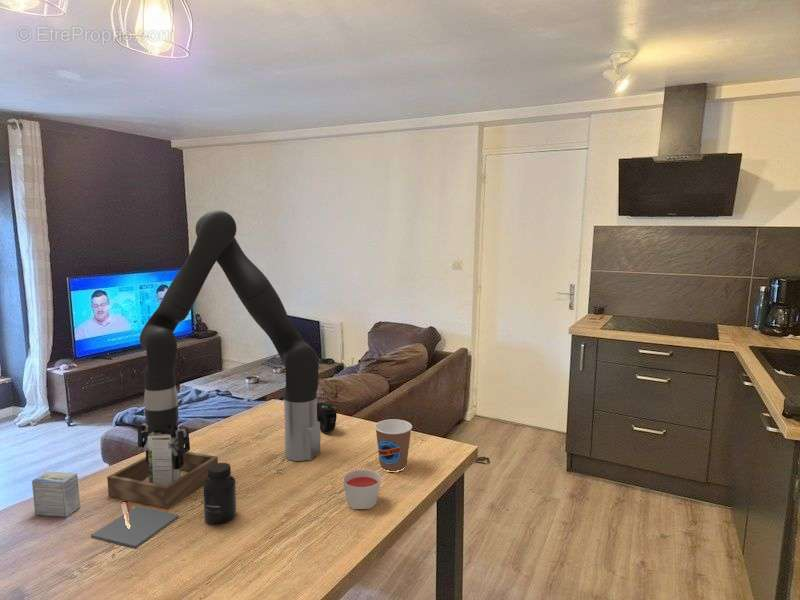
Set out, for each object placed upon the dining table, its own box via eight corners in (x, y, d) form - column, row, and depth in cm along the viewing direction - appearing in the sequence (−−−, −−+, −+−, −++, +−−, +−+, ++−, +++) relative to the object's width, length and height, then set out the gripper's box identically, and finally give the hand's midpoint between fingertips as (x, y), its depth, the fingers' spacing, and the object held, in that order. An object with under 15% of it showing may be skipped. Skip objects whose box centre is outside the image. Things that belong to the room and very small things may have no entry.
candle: (364, 489, 125) (364, 465, 124) (388, 503, 119) (388, 478, 118) (335, 502, 119) (335, 477, 118) (359, 517, 112) (359, 491, 112)
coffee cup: (368, 472, 135) (368, 429, 133) (383, 456, 144) (383, 417, 143) (403, 479, 131) (404, 435, 129) (417, 463, 140) (417, 422, 139)
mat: (178, 517, 112) (178, 515, 112) (135, 548, 101) (135, 545, 101) (137, 508, 116) (137, 506, 116) (91, 537, 105) (90, 534, 105)
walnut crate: (218, 474, 133) (217, 456, 132) (167, 508, 116) (166, 488, 115) (164, 464, 138) (163, 447, 138) (108, 496, 121) (107, 476, 121)
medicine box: (81, 507, 116) (78, 472, 115) (66, 518, 112) (63, 481, 111) (50, 505, 117) (47, 470, 116) (34, 516, 113) (31, 480, 112)
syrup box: (158, 480, 130) (155, 426, 128) (181, 479, 130) (179, 426, 128) (149, 491, 124) (146, 435, 122) (173, 490, 124) (170, 434, 123)
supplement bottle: (206, 529, 108) (204, 476, 106) (202, 513, 114) (200, 464, 112) (239, 521, 111) (237, 470, 109) (234, 506, 117) (232, 458, 116)
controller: (326, 438, 157) (326, 407, 156) (311, 425, 168) (311, 397, 166) (339, 435, 160) (338, 405, 158) (323, 423, 170) (323, 395, 169)
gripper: (195, 402, 126) (198, 463, 128) (150, 397, 130) (154, 456, 132) (173, 412, 119) (176, 476, 121) (126, 406, 123) (130, 468, 125)
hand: (164, 465), depth 126 cm, fingers open, 8 cm apart
